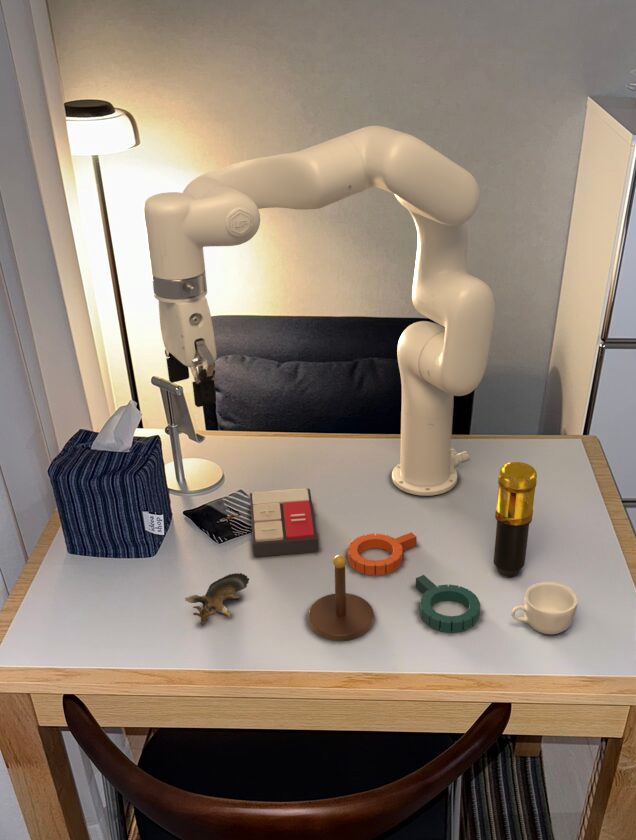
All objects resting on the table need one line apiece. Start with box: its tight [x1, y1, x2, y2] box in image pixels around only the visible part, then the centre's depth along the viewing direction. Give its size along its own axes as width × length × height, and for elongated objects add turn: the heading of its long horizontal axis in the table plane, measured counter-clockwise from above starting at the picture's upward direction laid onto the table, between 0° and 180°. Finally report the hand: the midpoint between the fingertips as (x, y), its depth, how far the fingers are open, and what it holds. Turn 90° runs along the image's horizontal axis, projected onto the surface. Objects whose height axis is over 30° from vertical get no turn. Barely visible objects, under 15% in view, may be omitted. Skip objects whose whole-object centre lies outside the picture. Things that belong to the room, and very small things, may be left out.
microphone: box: [493, 461, 538, 578], centre depth 146 cm, size 6×13×20 cm, turn 108°
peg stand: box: [308, 554, 374, 642], centre depth 138 cm, size 10×10×12 cm
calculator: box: [249, 487, 319, 558], centre depth 160 cm, size 11×4×15 cm
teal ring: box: [415, 574, 481, 634], centre depth 143 cm, size 13×9×2 cm
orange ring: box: [347, 531, 417, 577], centre depth 154 cm, size 13×9×2 cm
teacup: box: [510, 581, 579, 635], centre depth 138 cm, size 10×8×5 cm
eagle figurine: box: [184, 572, 250, 626], centre depth 141 cm, size 8×7×9 cm
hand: (192, 391), depth 138 cm, fingers open, 9 cm apart
